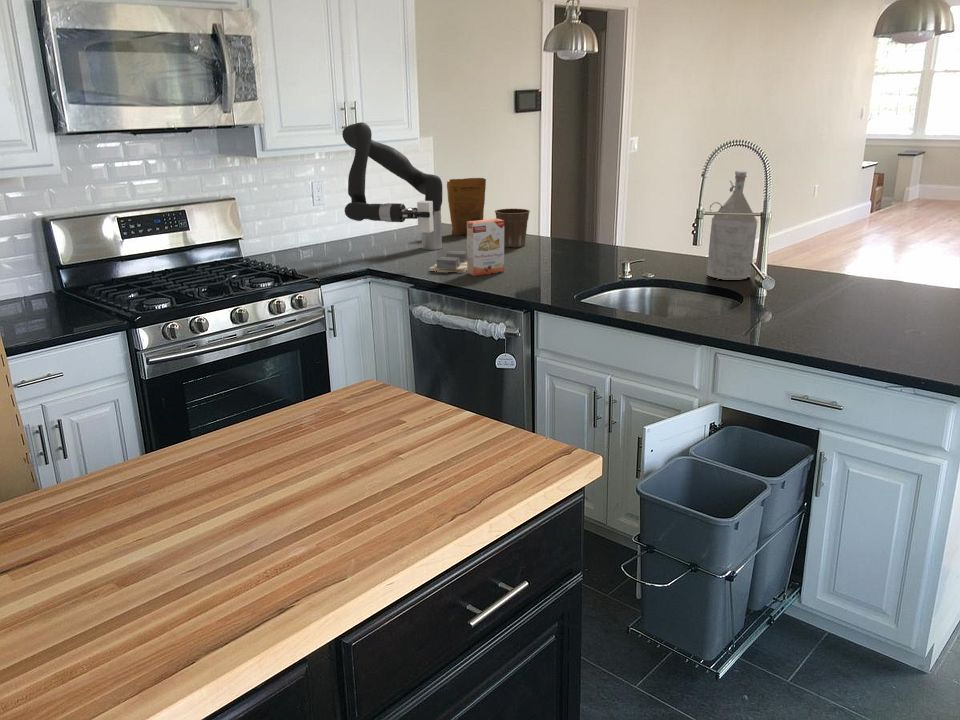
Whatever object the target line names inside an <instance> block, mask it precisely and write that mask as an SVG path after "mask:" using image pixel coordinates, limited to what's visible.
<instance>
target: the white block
mask: <svg viewBox="0 0 960 720" xmlns="http://www.w3.org/2000/svg"><path fill="white" fill-rule="evenodd" d="M416 206H417V207H416V208H417V211H420V213H421V212H430V217H429V218H423V217H421V218H417V228H418V229H417V231H418V233H422V232H426V233H430V232H432V231H434V225H433V201H425V200H419V201H417V202H416Z"/></svg>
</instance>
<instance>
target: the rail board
mask: <svg viewBox="0 0 960 720" xmlns="http://www.w3.org/2000/svg"><path fill="white" fill-rule="evenodd" d="M445 254H446V255H445V256H446V257H445V256H440V257H438V258H437V259H436V263H435V264H433V265H431V266H430V267H429V272H430V271H435V272H434V273H448V272H457V273H456V274H464V273H465V272H466V270H467V251H464V250H463V251H459V250H449V251H448V252H446V253H445ZM436 271H437V272H436ZM463 272H464V273H463Z"/></svg>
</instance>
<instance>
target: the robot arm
mask: <svg viewBox="0 0 960 720" xmlns="http://www.w3.org/2000/svg"><path fill="white" fill-rule="evenodd" d="M372 136H373V135H372V130H371V128H370V125H368V123H366V122H362V121H361V122H357V123H352V124H349V125H348V126H345V127H344V128H343V130H342V138H343V142H345V144H346V145H348V146H349V147H350V148H352V149H354V150H355V151H354V157H353V160H352V164H351V166H350V169H349V173H348V176H347V178H348V181H347V194H348V196H349V197H350V200H351V202H349V203H347V204H346V205H345V207H344V215H345V216H346V218H348V219H349V220H352V221H356V222H361V221H364V220H369V221H374V222H375V221H376V222H386V223H404V222H405V221H406V219H407V220H408V219H409V220H410V219H412V220H415V219H416V220H418V218H421V217H423V218H429V217H430V212H421V213H420V211H417V207H408V208H407V207H406V206H405V204H404V203H399V202H398V203H397V202H396V203H395V202H393V203H392V202H391V203H390V202H387V203H367V197H366V195H365V194H366V175H367V165H368V160H369V158H370V159H371V160H373V162H376V163H377V164H379V165H380V166H382V167H383V168H384V169H386V170H388V171H389V172H390V173H391V174H394V175H395V176H397V177H398V178H400V179H402V180H403V181H406V182H407V183H408V184H409V185H410V186H412V187H413V188H414V190H416V191H417V192H419V194H422V195H424V201H433V225H434V231H432V232H430V233H426V232H421V248H422V249H423V250H427V251H428V250H432V251H433V250H440V249H441V250H442V248H443V237H442V236H443V235H442V234H443V233H442V230H443V229H442V212H441V211H442V204H443V182H442V179H441V177H440V176H438V175H436V174H431V173H425V172H423V171H422V170H419V169H418V168H416V167H415V166H414V165H413V164H412V163H411V162H410V160H409V158H408V157H407V156H406V155H404V154H403V153H402V152H400V151H399V150H398V149H396V148H394V147H392V146H389V145H386V144H384V143H381V142H378V141H375V140H373V139H372Z"/></svg>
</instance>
